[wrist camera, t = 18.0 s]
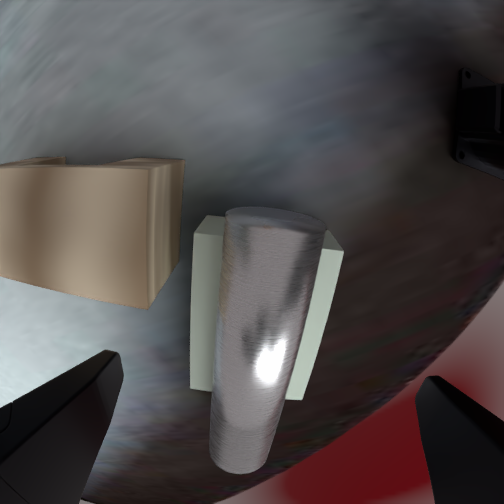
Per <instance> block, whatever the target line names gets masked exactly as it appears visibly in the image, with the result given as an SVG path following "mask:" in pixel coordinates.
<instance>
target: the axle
mask: <svg viewBox="0 0 504 504" xmlns="http://www.w3.org/2000/svg"><path fill="white" fill-rule="evenodd" d="M325 232H326V226H325V225H324V224H323V223H322V222H321V221H319V220H317V219H315V218H313V217H310V216H307V215H304V214H301V213H297V212H293V211H289V210H283V209H277V208H269V207H238V208H233V209H230V210H228V211H227V212H226V214H225V225H224V235H223V246H222V258H221V269H220V281H219V294H218V306H217V320H216V334H215V349H214V365H213V382H212V400H211V421H210V444H209V452H210V456H211V458H212V460H213V462H214V463H215V464H216V465H217V466H218V467H220V468H221V469H223V470H225V471H227V472H230V473H235V474H245V473H250V472H253V471H255V470H257V469H259V468H260V467H261V466H262V465H263V464H264V462H265V461H266V459H267V456H268V453H269V450H270V447H271V443H272V440H273V437H274V434H275V431H276V428H277V425H278V421H279V418H280V415H281V412H282V408H283V405H284V401H285V398H286V395H287V391H288V388H289V384H290V381H291V377H292V373H293V370H294V366H295V362H296V359H297V355H298V351H299V347H300V343H301V339H302V336H303V332H304V328H305V323H306V319H307V315H308V311H309V307H310V303H311V298H312V294H313V289H314V285H315V280H316V276H317V271H318V267H319V262H320V257H321V252H322V247H323V242H324V237H325Z"/></svg>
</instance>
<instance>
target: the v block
mask: <svg viewBox="0 0 504 504" xmlns="http://www.w3.org/2000/svg"><path fill="white" fill-rule="evenodd" d="M224 225H225V217H220V216H211V215H207V216H206V217H205V218H204V220H203V221H202V223H201V224H200V225H199V227H198V228H197V229H196V231H195V232H194V242H193V261H192V284H191V319H190V388H191V389H197V390H204V391H211V392H212V382H213V365H214V349H215V334H216V320H217V306H218V294H219V281H220V269H221V258H222V246H223V235H224ZM343 253H344V251H343V249H342V248H341V247H340V245H339V244H338V242H337V241H336V240H335V238H334V237H333V235H332V234H331V233H330V231H329V230H326V232H325V237H324V242H323V247H322V252H321V257H320V262H319V267H318V271H317V276H316V280H315V285H314V289H313V294H312V298H311V303H310V307H309V311H308V315H307V319H306V323H305V328H304V332H303V336H302V339H301V343H300V347H299V351H298V355H297V359H296V362H295V366H294V370H293V373H292V377H291V381H290V384H289V388H288V391H287V395H286V398H285V399H293V400H302V398H303V395H304V392H305V389H306V386H307V383H308V380H309V377H310V374H311V371H312V368H313V365H314V362H315V358H316V355H317V352H318V348H319V345H320V342H321V338H322V335H323V331H324V328H325V324H326V321H327V317H328V313H329V310H330V306H331V302H332V298H333V295H334V291H335V287H336V283H337V279H338V274H339V270H340V266H341V262H342V258H343Z"/></svg>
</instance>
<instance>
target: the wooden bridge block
mask: <svg viewBox="0 0 504 504" xmlns="http://www.w3.org/2000/svg"><path fill="white" fill-rule="evenodd" d="M184 168H185V160H176V159H159V158H133V159H127V160H122V161H116V162H111V163H106V164H101V165H66V157H39V158H31V159H26V160H20V161H15V162H10V163H5V164H1V165H0V276H1V277H5V278H8V279H12V280H16V281H19V282H23V283H27V284H31V285H34V286H38V287H42V288H46V289H50V290H55V291H59V292H63V293H67V294H72V295H76V296H81V297H85V298H90V299H94V300H99V301H104V302H109V303H114V304H119V305H124V306H130V307H135V308H141V309H146V310H148V309H149V307H150V306H151V304H152V302H153V301H154V299H155V298H156V296H157V294H158V293H159V291H160V290H161V288H162V287H163V285H164V284H165V282H166V280H167V279H168V277H169V276H170V274H171V273H172V271H173V270H174V268H175V267H176V265H177V263H178V262H179V254H180V230H181V211H182V195H183V181H184Z"/></svg>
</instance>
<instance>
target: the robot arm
mask: <svg viewBox="0 0 504 504" xmlns="http://www.w3.org/2000/svg"><path fill="white" fill-rule="evenodd" d="M465 73H466V74H467V77H466V75H465ZM455 127H456V129H455V138H454V146H453V158H454V160H455V161H456V162H458V163H461V164H464V165H466V166H469V167H472V168H474V169H477V170H480V171H482V172H485V173H487V174H490V175H492V176H495V177H497V178H499V179H502V180H504V83H502V84H498V83H497V84H495V83H494V82H492V81H490V80H489V79H487V78H485V77H483V76H482V75H480V74H478V73H476V72H474V71H472V70H471V69H469V68H462V69H460V70H459V89H458V97H457V112H456V123H455ZM459 152H461V158H460V157H459ZM123 377H124V374H123V368H122V363H121V358H120V355H119V353H117V352H114V351H110V350H104V351H102V352H100V353H98V354H96V355H95V356H93V357H91V358H89V359H88V360H86V361H84V362H82V363H80V364H79V365H77V366H75V367H73V368H72V369H70V370H68V371H66V372H64V373H63V374H61V375H59V376H57V377H55V378H54V379H52V380H50V381H48V382H47V383H45V384H43V385H41V386H39V387H38V388H36V389H34V390H32V391H30V392H29V393H27V394H25V395H23V396H21V397H19V398H18V399H16V400H14V401H13V403H12V402H10V403H8V404H7V405H5V406H3V407H1V408H0V504H79V502H80V499H81V496H82V493H83V491H84V488H85V485H86V483H87V480H88V478H89V475H90V472H91V470H92V467H93V465H94V462H95V460H96V457H97V455H98V452H99V450H100V447H101V445H102V442H103V440H104V438H105V435H106V433H107V430H108V428H109V425H110V423H111V419H112V416H113V413H114V409H115V406H116V402H117V399H118V396H119V392H120V389H121V386H122V382H123ZM415 404H416V410H417V415H418V421H419V427H420V435H421V441H422V445H423V450H424V453H425V458H426V462H427V466H428V471H429V475H430V480H431V485H432V490H433V495H434V500H435V504H504V421H503V420H501V419H500V418H498V417H497V416H495V415H494V414H493V413H491V412H490V411H488V410H487V409H485V408H484V407H483V406H481V405H480V404H478V403H477V402H476V401H474V400H473V399H471V398H470V397H469V396H467V395H466V394H464V393H463V392H461V391H460V390H459V389H457V388H456V387H454V386H453V385H451V384H450V383H448V382H447V381H446V380H444V379H443V378H441V377H440V376H428V377H427V378H425V380H424V382H423V383H422V385H421V387H420V389H419V391H418V392H417V394H416V398H415Z"/></svg>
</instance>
